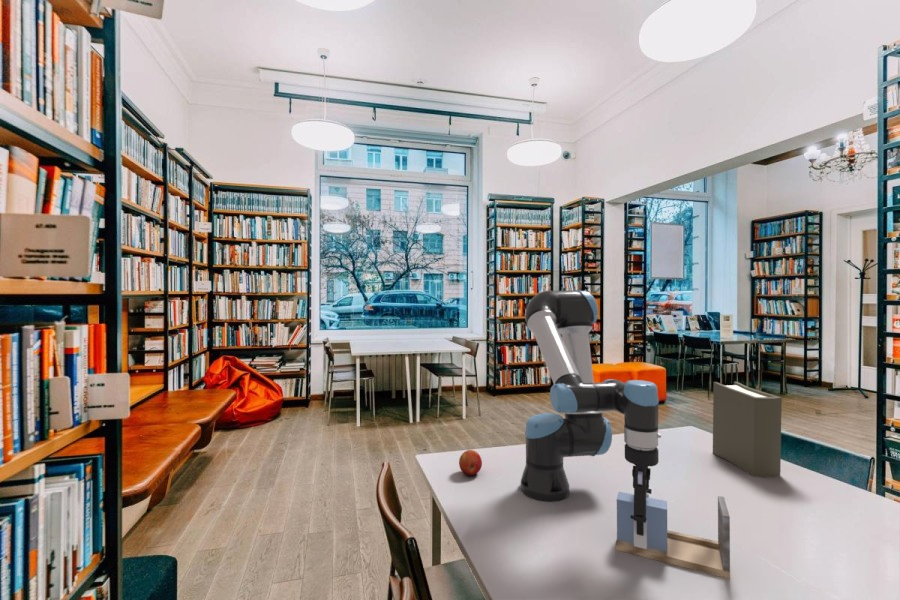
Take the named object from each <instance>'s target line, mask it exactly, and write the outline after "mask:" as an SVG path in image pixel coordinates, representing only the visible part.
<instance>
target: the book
mask: <svg viewBox="0 0 900 600" xmlns="http://www.w3.org/2000/svg"><path fill="white" fill-rule="evenodd" d="M712 394H713V396H712V397H713V400H712V401H713V402H712V403H713V404H712V409H713V410H712V454H714V455H715V456H717V457H720V458H722V459H724V460H726V461H728V462H730V463H731V464H733V465H734V466H737V467H738V468H740V469H741V470H743V471H744V472H746V473H747V472H748V474H749V475H750V474H751V476H752V475H753V476H752V477H755V476H759V477H758V478H776V477H780V476H781V460H782V459H781V456H782V455H781V454H782V451H781V450H782V449H781V448H782V405H783V403H782V401H783V400H782V399H783V397H780V396H777V395H774V394H770V393H768V392H765V391H761V390H759V389H756V388H752V387H749V386H747V385H744V384H742V383H740V382H738V381H733V384H732V385H730V384H729V385H728V384H727V385H725V384H722V383H720V382H718V381H713V393H712Z"/></svg>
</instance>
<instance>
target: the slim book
mask: <svg viewBox="0 0 900 600" xmlns="http://www.w3.org/2000/svg"><path fill="white" fill-rule="evenodd" d="M630 515H634V493H627V492H622V491H618V492H617V496H616V541H617V540H620V541H624V542H628V543H632V544H634V520H633V519H631V518H630ZM646 518H647V547H648V548H652V549H656V550H660V551H664V552H667V530H668V500H663V499H659V498H658V499H657V498H653V497H649V498H648V497H646Z"/></svg>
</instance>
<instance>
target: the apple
mask: <svg viewBox="0 0 900 600" xmlns="http://www.w3.org/2000/svg"><path fill="white" fill-rule="evenodd" d="M482 460H483V459H482V457H481V455H480V454H479V453H478V452H477V451H476V450H472V449H468V450H465V451H464V452H462V454H461V455H460V457H459V460H458V465H459V469H460V470H461V473H463V474H464V475H465V476H468V477H470V476H475V475H476V474H479V472H481V469H482V466H483V461H482Z"/></svg>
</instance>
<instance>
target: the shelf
mask: <svg viewBox="0 0 900 600" xmlns="http://www.w3.org/2000/svg"><path fill="white" fill-rule="evenodd" d="M730 519H731V517H730V513H729V510H728V506H727V503H726V500H725V497H724V496H722V495H717V540H714V539H713V540H712V539H710V538H709V539H707V538H704V537H699V536H694V535H690V534H687V533H686V534H685V533H682V532H681V533H680V532H677V531H673V530H669V529H667V552H664V551H660V550H656V549H652V548H648V547H647V549H643V548H639V547H635V546H634V544H632V543H628V542H624V541H620V540H617V539H616V542H615V550H616V551H620V552H623V553H628V554H631V555H632V554H633V555H636V556H639V557H644V558H647V559H650V560H655V561H659V562H663V563H666V564H670V565H675V566H678V567H683V568H686V569H690V570H694V571H698V572H702V573H706V574H710V575H714V576H718V577H721V578H725V579H729V580H730V579H731V536H730V535H731V529H730V528H731V526H730V524H731V523H730V522H731V520H730Z"/></svg>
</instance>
